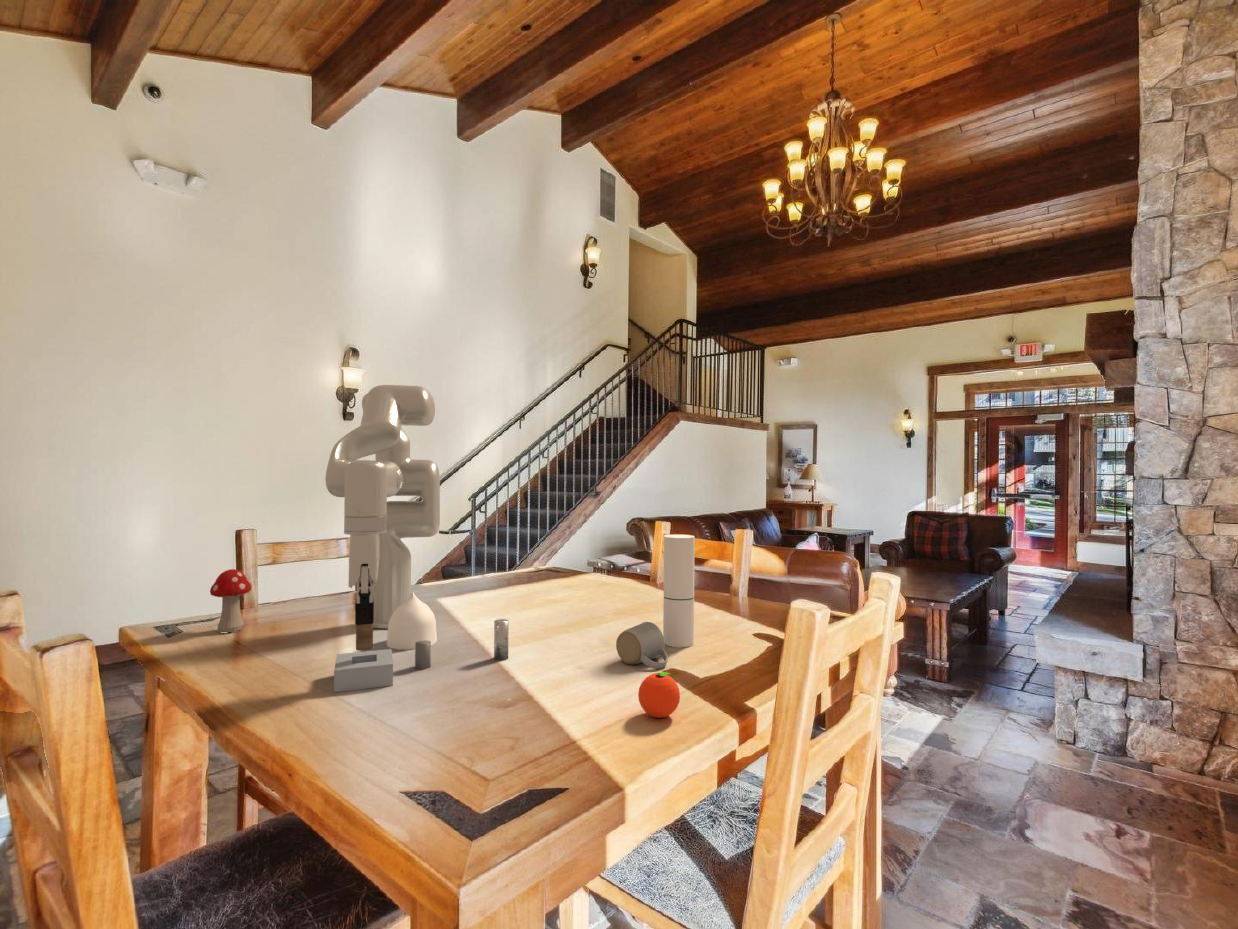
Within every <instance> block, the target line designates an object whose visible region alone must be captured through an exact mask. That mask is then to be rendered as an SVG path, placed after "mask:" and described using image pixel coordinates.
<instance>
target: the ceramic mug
mask: <svg viewBox="0 0 1238 929" xmlns="http://www.w3.org/2000/svg"><path fill="white" fill-rule="evenodd" d="M615 644H616V646H615V648H616V651H617V655H618V656H619V657H620V659H621V660H622V662H623V663H625V664H627V665H631V666H632V665H639V664H644V665H645V666H647V667H649V668H651V669H655V670H660V669H663V667H664V668H665V667H666V666H667V664H668V661H669V656H668V654H667V652H666V651H665V644H664V637H663V632H662V630H660V628H659V626H658V625H656V624H655V623H654V622H651V621H644V622H641V623H639V624H637V625H634V626H632V627H630V628H626V629H625V630H624V631H622V632H621V633H620V634H619V635H618V637H617V639H616V643H615ZM660 656H661V658H662V659H663V661H662V662H657V661H653V659H656V658H659V657H660Z"/></svg>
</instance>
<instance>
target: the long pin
mask: <svg viewBox="0 0 1238 929" xmlns="http://www.w3.org/2000/svg"><path fill="white" fill-rule="evenodd" d="M359 586H361V584H360V583H359ZM368 586H371V577H370V583H368ZM368 590H369V591H370V589H368ZM360 591H361V590H360ZM373 593H374V587H373ZM369 599H370V596H369ZM369 602H370V601H369ZM372 602H373V594H372ZM355 603H357V594H356V598H355ZM373 648H374V628H373V623H372V624H364V625H356V624H355V650H356V651H359V652H364V651H370V650H372V649H373Z"/></svg>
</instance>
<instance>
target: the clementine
mask: <svg viewBox="0 0 1238 929" xmlns="http://www.w3.org/2000/svg"><path fill="white" fill-rule="evenodd" d="M637 694H638V696H637V697H638V702H639V705H640V707H641V708H642V709H643V711H644V712H645V713H646V714H648V715H649V716H650V717H652V718H658V719H659V718H667V717H669V716H670V715H672V714H673V713H674V712H675V711H676V710H677V708H678V707H679V704H680V700H681V693H680V688H679V686H678V683H677V682H676V680H675V676H674V675H673V674H672V673H671V672H667V671H665V672H664V671H661V672H656V673H655V672H654V673H652V674H650V675H648V676H647V677H645V678H644V679H643V680H642V682H641V683H640V686H639V688H638V693H637Z"/></svg>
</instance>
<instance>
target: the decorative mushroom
mask: <svg viewBox="0 0 1238 929" xmlns="http://www.w3.org/2000/svg"><path fill="white" fill-rule="evenodd" d="M252 588H253V587H252V584H251V582H250V581H249V580H248V578H247V577H246V574H244V573H243V572H242V571H241V570H239V569H234V568H232V569H227V570H224V571H223V572H221V573H220V574H219V575H218V576H217V577H216V579H215V582H214V583H213V584H212V586H211V587H210V590H209V593H210V595H211V596H213V597H216V598H222V602H221V603H222V604H221V605H222V606H221V614H220V618H219V622H218V624H217V630H218V633H219V632H234V633H236V632H235V631H238V630H240V629H242V630H243V628H244V624H245V622H244V620H243V618H242V613H241V605H240V604H241V603H240V602H241V601H240V600H241V599H240V598H241V597H240V596H244V595H246V594H248V593H250V592H251V591H252ZM242 627H243V628H242ZM240 631H241V630H240ZM238 632H239V631H238Z"/></svg>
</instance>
